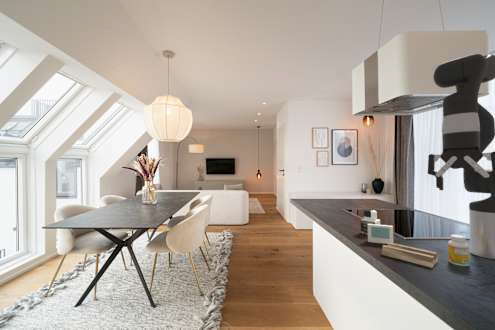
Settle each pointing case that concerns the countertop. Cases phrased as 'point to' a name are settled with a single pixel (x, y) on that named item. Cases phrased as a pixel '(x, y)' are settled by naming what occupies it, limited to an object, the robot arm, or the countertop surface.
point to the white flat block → (380, 233)
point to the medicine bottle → (369, 220)
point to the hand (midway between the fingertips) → (461, 190)
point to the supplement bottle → (458, 250)
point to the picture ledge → (410, 254)
